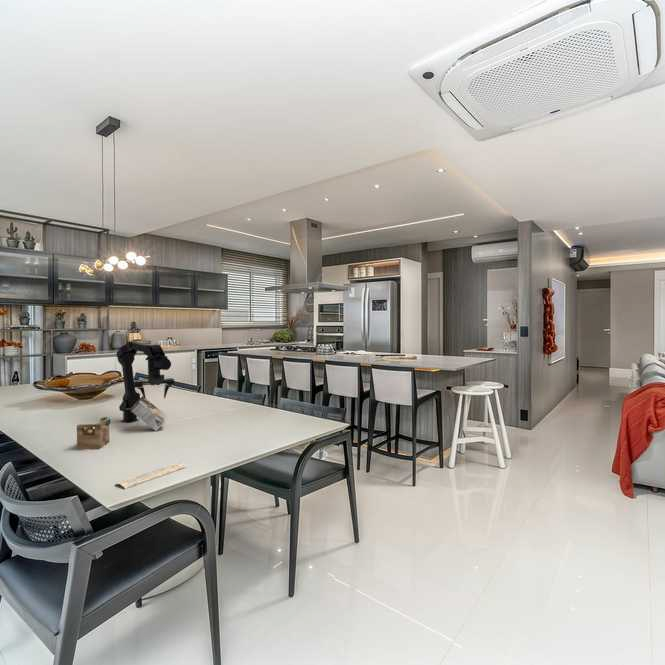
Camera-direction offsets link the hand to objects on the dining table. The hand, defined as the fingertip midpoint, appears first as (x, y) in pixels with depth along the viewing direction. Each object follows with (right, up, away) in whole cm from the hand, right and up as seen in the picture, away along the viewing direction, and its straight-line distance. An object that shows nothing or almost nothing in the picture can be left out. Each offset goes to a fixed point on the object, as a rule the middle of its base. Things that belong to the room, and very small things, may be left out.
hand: (154, 399), depth 210 cm
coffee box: (+6, -12, -5) cm, 14 cm away
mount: (-12, -15, -33) cm, 38 cm away
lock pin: (-13, -9, -29) cm, 33 cm away
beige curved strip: (+28, -16, -68) cm, 75 cm away
